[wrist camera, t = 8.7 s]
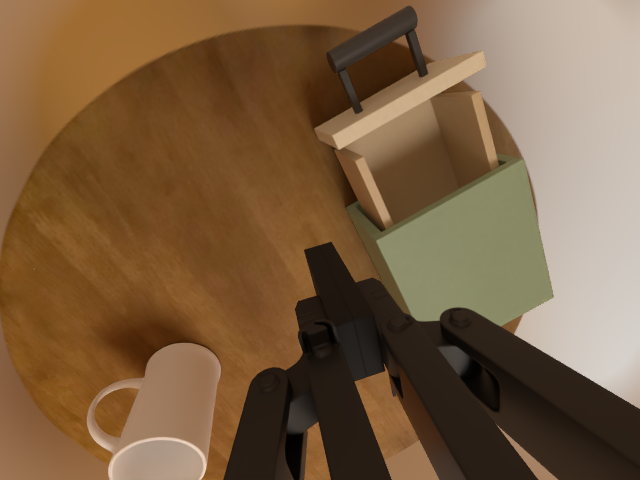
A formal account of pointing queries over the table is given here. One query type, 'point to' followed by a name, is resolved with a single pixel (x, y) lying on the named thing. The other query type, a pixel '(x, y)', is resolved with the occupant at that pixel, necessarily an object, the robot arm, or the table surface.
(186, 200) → the table surface
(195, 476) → the mug
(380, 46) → the drawer
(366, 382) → the table surface
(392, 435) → the table surface
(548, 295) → the cabinet
